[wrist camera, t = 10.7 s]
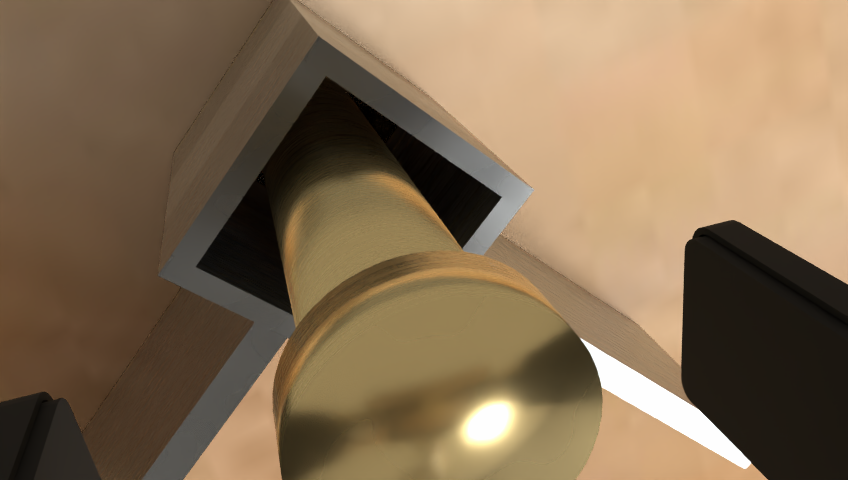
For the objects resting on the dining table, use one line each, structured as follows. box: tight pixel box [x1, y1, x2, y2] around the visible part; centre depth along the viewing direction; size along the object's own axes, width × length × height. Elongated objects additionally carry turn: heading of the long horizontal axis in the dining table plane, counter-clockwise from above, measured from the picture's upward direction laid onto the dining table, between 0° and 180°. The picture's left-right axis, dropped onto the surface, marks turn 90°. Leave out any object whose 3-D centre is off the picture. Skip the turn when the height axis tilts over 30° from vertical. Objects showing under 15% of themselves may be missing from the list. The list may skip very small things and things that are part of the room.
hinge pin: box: [263, 78, 602, 480], centre depth 15 cm, size 4×4×14 cm
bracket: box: [82, 0, 751, 480], centre depth 22 cm, size 17×17×8 cm
